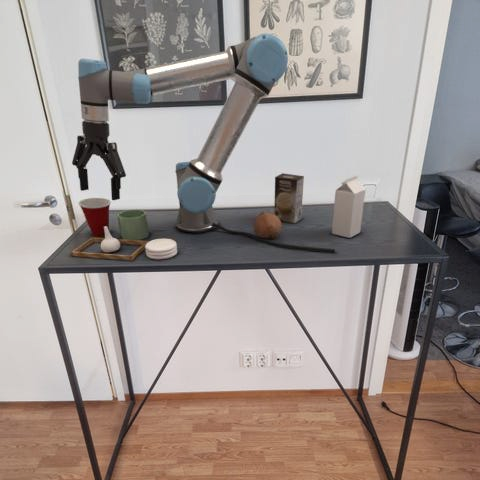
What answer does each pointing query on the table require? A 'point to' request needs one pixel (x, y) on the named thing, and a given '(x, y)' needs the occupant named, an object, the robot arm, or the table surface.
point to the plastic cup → (96, 214)
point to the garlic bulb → (109, 242)
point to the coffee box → (288, 197)
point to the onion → (267, 226)
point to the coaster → (161, 249)
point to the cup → (133, 224)
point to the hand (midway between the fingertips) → (99, 194)
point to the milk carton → (348, 208)
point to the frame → (109, 256)
